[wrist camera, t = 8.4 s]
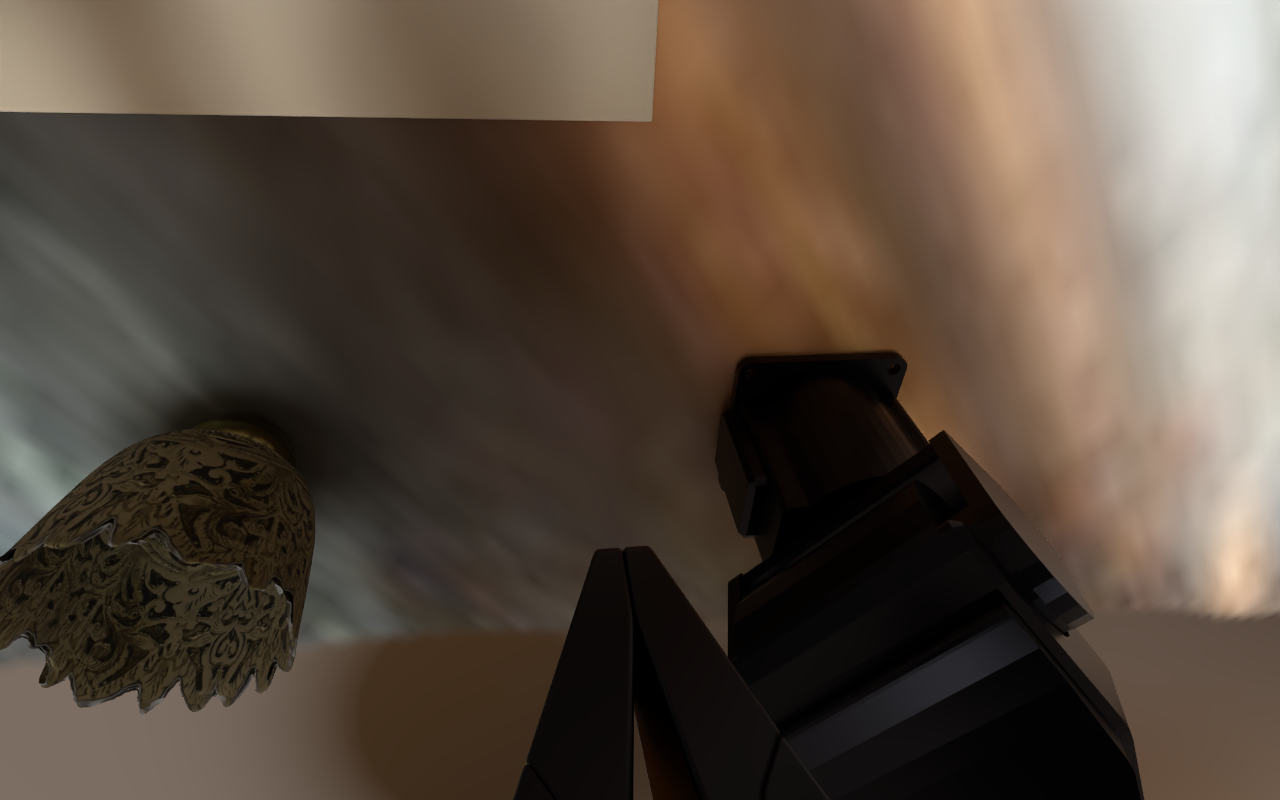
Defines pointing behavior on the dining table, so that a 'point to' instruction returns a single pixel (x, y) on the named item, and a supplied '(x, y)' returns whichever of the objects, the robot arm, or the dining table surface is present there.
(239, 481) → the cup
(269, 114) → the base board
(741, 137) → the dining table surface
